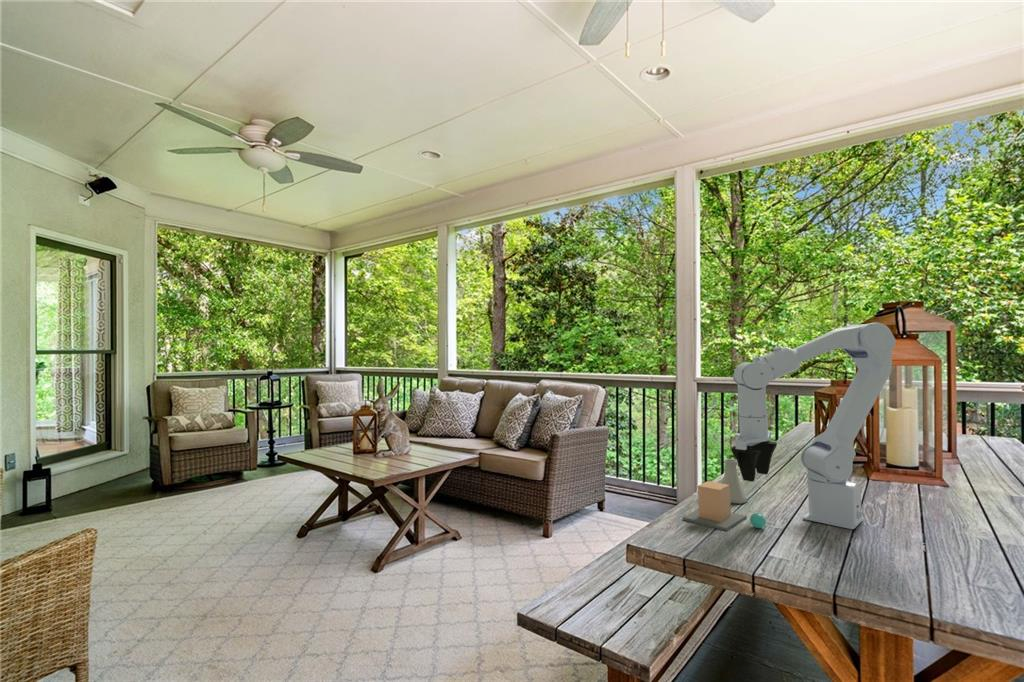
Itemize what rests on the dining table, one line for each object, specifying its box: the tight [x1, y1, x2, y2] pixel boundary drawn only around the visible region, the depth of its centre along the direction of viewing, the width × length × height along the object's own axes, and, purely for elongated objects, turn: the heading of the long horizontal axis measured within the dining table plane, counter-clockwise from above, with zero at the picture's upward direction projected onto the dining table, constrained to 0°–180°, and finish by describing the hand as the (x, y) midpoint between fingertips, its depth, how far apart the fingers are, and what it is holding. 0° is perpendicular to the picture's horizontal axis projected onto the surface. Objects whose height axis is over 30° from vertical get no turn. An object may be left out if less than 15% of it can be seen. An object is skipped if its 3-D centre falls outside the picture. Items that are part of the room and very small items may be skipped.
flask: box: [721, 458, 749, 504], centre depth 122 cm, size 7×7×10 cm
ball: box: [749, 512, 767, 529], centre depth 103 cm, size 3×3×3 cm
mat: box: [682, 508, 748, 532], centre depth 109 cm, size 10×10×1 cm
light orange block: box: [697, 480, 732, 522], centre depth 109 cm, size 5×5×7 cm
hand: (755, 477), depth 108 cm, fingers open, 7 cm apart
